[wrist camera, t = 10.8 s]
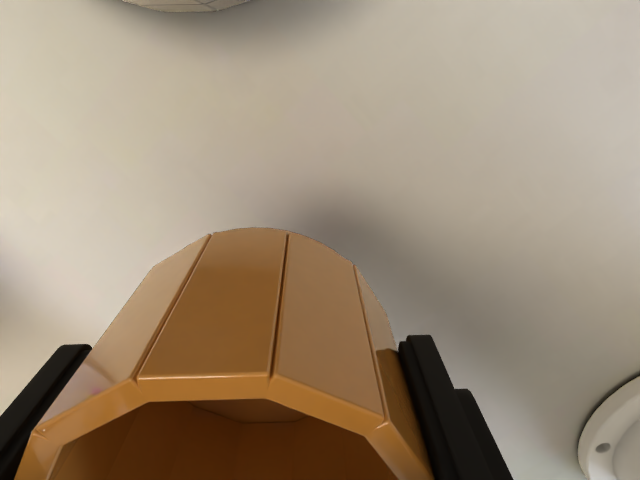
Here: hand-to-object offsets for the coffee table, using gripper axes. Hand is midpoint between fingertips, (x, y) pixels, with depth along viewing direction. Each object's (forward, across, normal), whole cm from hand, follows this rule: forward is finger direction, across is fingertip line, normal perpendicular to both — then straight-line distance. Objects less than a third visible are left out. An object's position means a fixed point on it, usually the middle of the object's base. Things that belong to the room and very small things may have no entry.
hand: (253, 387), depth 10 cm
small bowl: (+2, 0, 0) cm, 2 cm away
